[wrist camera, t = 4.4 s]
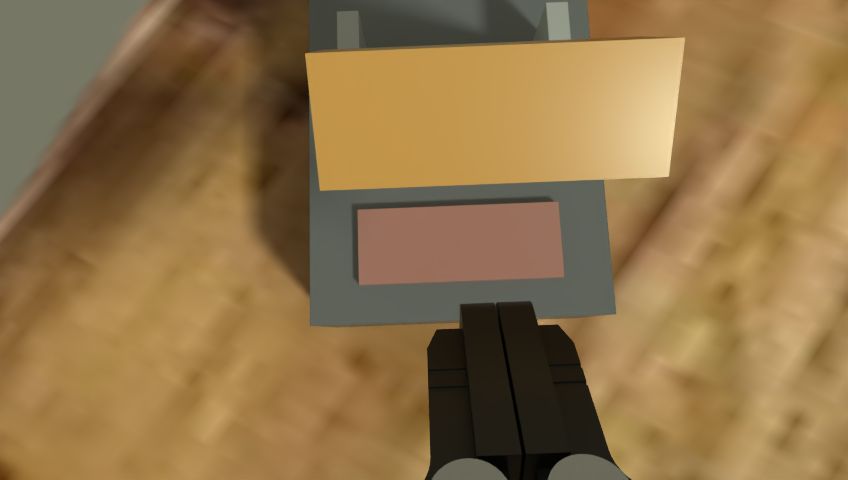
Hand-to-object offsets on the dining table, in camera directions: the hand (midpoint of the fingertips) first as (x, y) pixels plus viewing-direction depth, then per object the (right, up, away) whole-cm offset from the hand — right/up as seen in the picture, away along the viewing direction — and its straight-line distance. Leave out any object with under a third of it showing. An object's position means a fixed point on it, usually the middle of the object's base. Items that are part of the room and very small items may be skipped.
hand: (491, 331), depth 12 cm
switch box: (0, +8, +17) cm, 19 cm away
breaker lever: (0, +9, +10) cm, 14 cm away
